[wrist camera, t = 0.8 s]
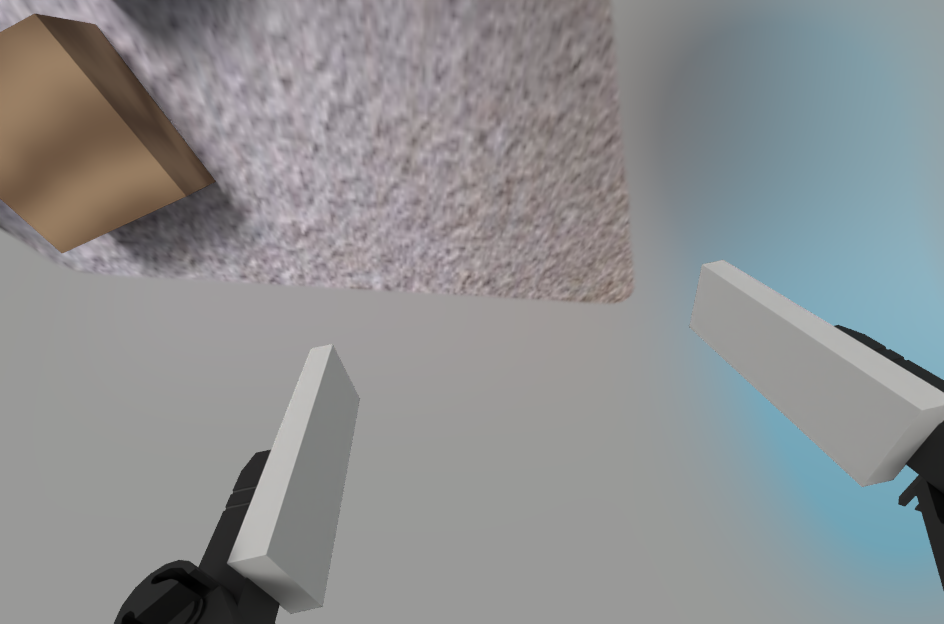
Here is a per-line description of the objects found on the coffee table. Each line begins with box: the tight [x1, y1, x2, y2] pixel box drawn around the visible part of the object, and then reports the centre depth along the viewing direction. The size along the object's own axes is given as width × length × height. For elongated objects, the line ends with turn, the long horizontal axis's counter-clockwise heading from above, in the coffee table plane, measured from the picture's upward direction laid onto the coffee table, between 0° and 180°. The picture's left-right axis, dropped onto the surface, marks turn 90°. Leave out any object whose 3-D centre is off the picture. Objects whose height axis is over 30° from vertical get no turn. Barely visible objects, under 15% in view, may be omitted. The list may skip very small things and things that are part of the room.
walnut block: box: [0, 14, 216, 253], centre depth 28 cm, size 12×12×5 cm
